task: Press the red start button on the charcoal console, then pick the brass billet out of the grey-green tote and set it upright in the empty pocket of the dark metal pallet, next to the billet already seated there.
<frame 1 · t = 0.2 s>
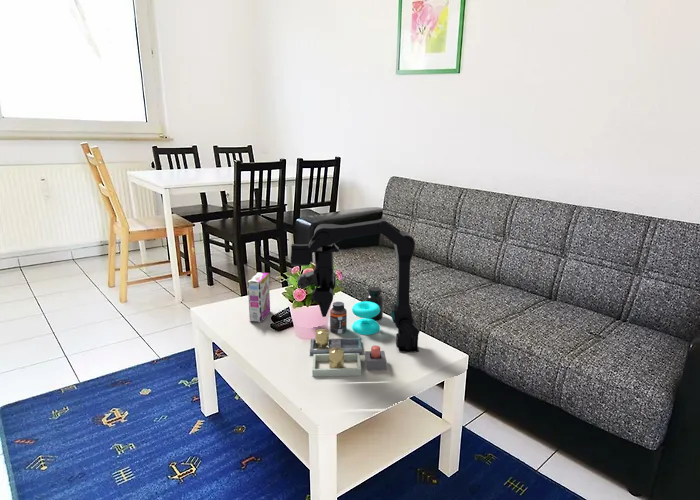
hand: (325, 310, 145), 14 cm above the table, tool pointing down, fingers open, 9 cm apart
supplement bottle 2: (338, 333, 161), on the table
pallet: (336, 350, 148), on the table
donuts: (365, 331, 162), on the table
console: (375, 367, 138), on the table
tote: (336, 370, 137), on the table
candy bar box: (260, 317, 174), on the table
billet: (336, 368, 137), point 1 cm above the table, touching tote
supplement bottle: (374, 318, 173), on the table
start button: (375, 352, 137), point 5 cm above the table, slide at 0.0 cm
loaded billet: (322, 348, 148), resting on pallet
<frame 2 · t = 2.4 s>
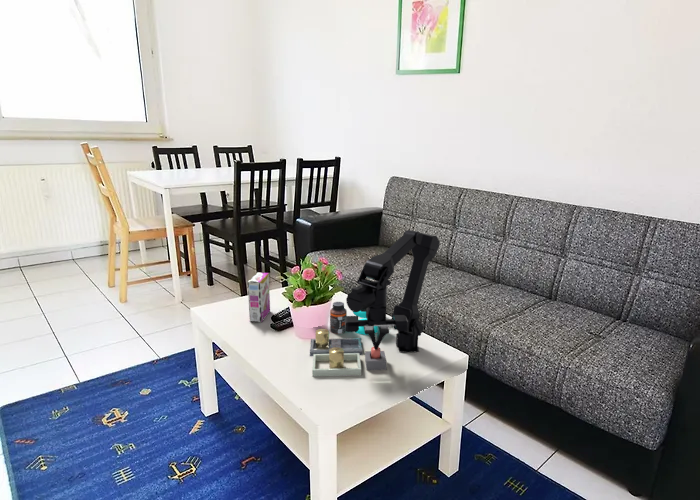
hand: (375, 348, 137), 6 cm above the table, tool pointing down, fingers closed, pressing on start button
start button: (375, 353, 137), point 5 cm above the table, slide at 0.4 cm, touching gripper
everything else where it was.
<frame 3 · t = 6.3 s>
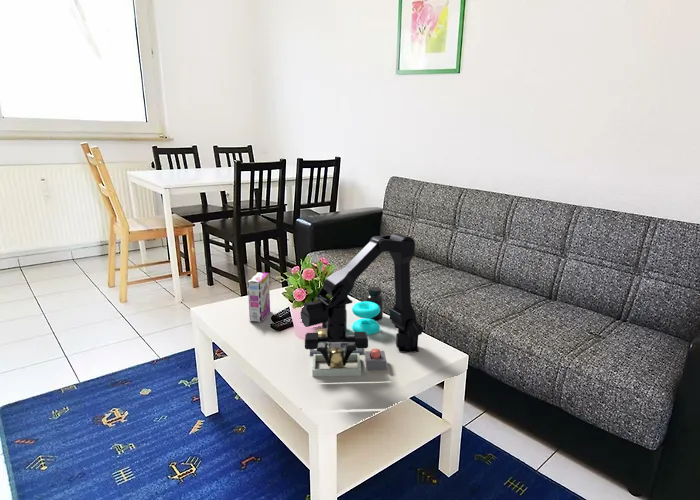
hand: (336, 365, 136), 2 cm above the table, tool pointing down, fingers closed on billet, 4 cm apart
billet: (336, 368, 137), point 1 cm above the table, touching gripper, tote
start button: (375, 355, 137), point 4 cm above the table, slide at 1.0 cm
everything else where it was.
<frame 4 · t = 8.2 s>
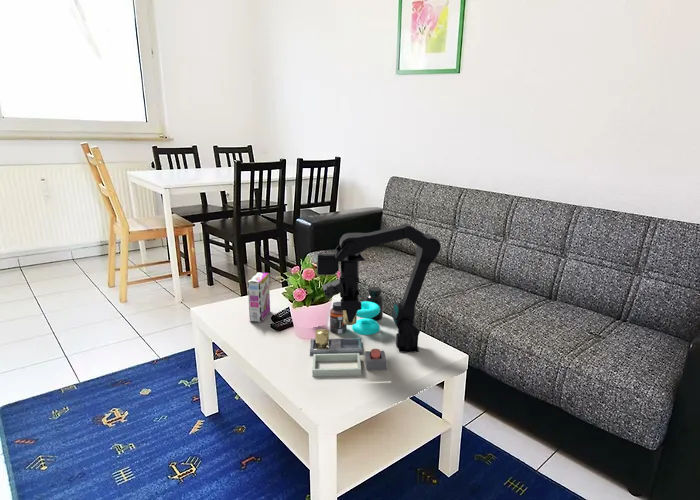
hand: (349, 319, 145), 11 cm above the table, tool pointing down, fingers closed on billet, 4 cm apart
billet: (349, 322, 146), point 10 cm above the table, touching gripper
everything else where it was.
when the fingers open (4 cm above the table, at t = 9.9 s): billet drops 2 cm, resting on pallet.
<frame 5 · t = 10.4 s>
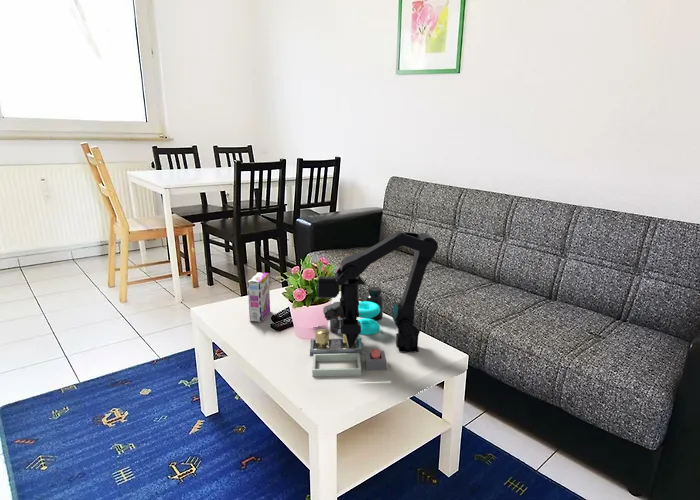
hand: (349, 340, 148), 4 cm above the table, tool pointing down, fingers open, 9 cm apart
billet: (349, 347, 148), point 1 cm above the table, touching pallet
everything else where it was.
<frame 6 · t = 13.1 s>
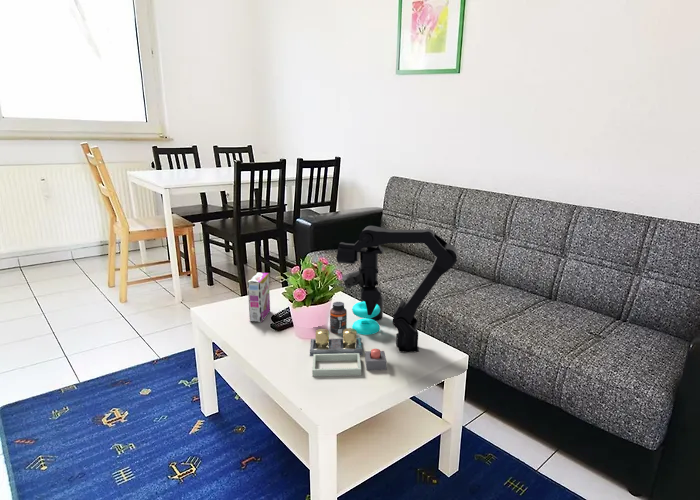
hand: (368, 309, 150), 13 cm above the table, tool pointing down, fingers open, 9 cm apart
nothing on the table moved.
at the end: billet 0.0 cm from the target spot on the pallet, point 1.0 cm above the pallet's base; billet tilted 0°; the gripper is holding nothing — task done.
